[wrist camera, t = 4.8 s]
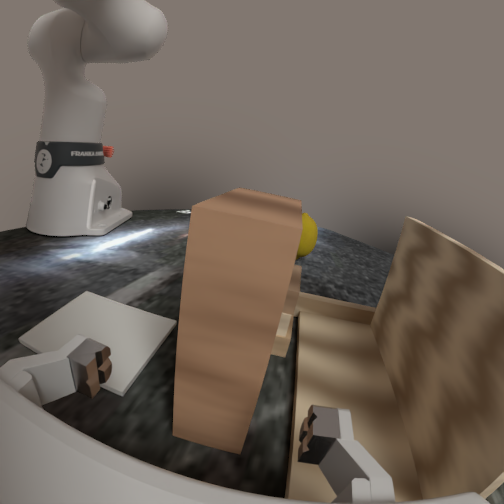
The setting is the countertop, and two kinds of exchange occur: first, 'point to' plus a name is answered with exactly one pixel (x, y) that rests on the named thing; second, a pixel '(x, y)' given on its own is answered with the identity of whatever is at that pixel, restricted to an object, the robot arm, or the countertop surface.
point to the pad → (104, 334)
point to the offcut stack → (287, 315)
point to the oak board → (231, 311)
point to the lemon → (307, 236)
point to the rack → (410, 372)
